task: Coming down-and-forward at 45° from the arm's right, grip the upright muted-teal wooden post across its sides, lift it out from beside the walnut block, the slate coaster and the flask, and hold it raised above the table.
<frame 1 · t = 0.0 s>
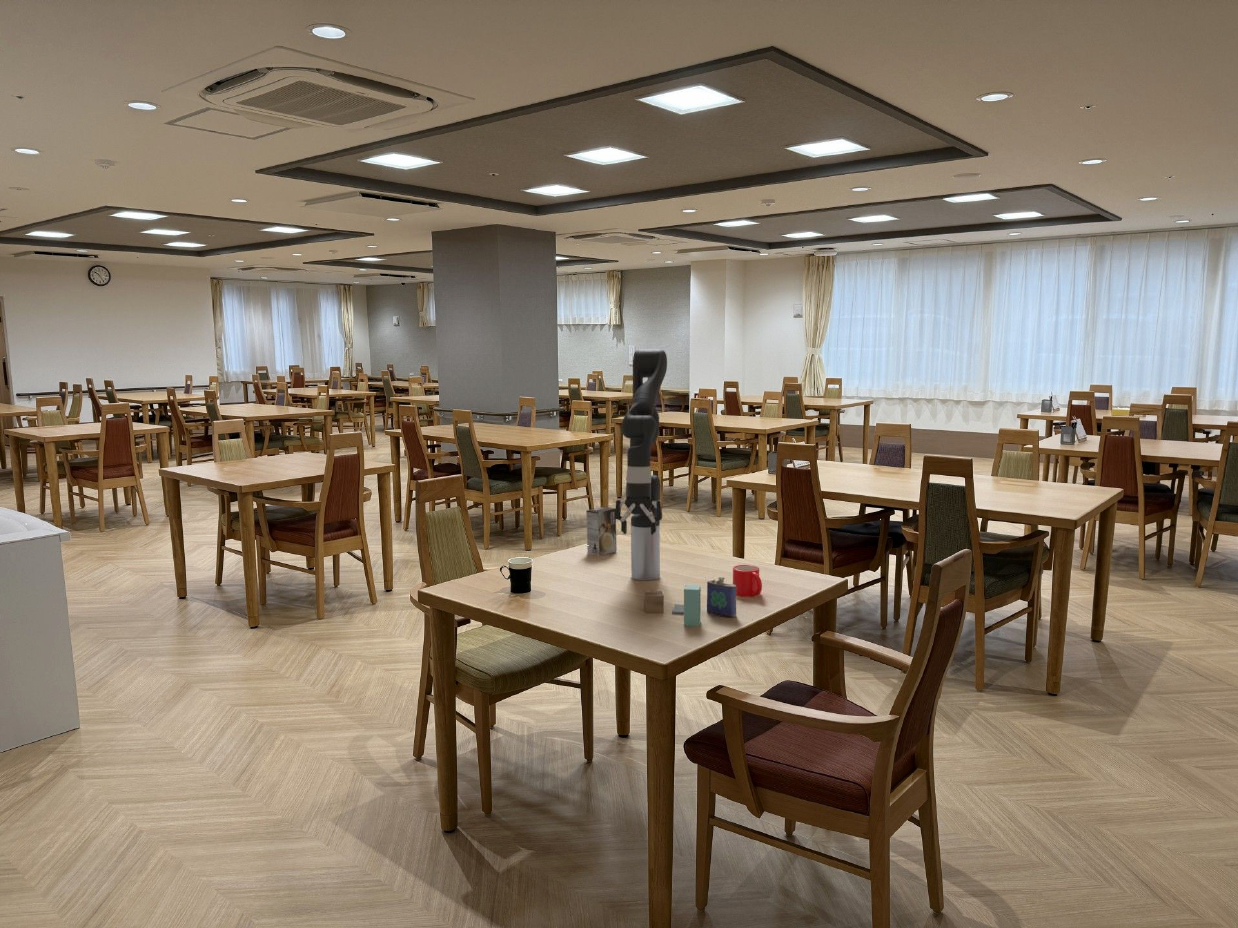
hand: (638, 533, 264), 17 cm above the table, tool pointing down, fingers open, 8 cm apart
teal post: (692, 623, 233), on the table
mug: (749, 595, 259), on the table
slate coaster: (686, 612, 244), on the table
coffee box: (602, 553, 313), on the table
walnut block: (653, 610, 245), on the table
flask: (720, 615, 240), on the table
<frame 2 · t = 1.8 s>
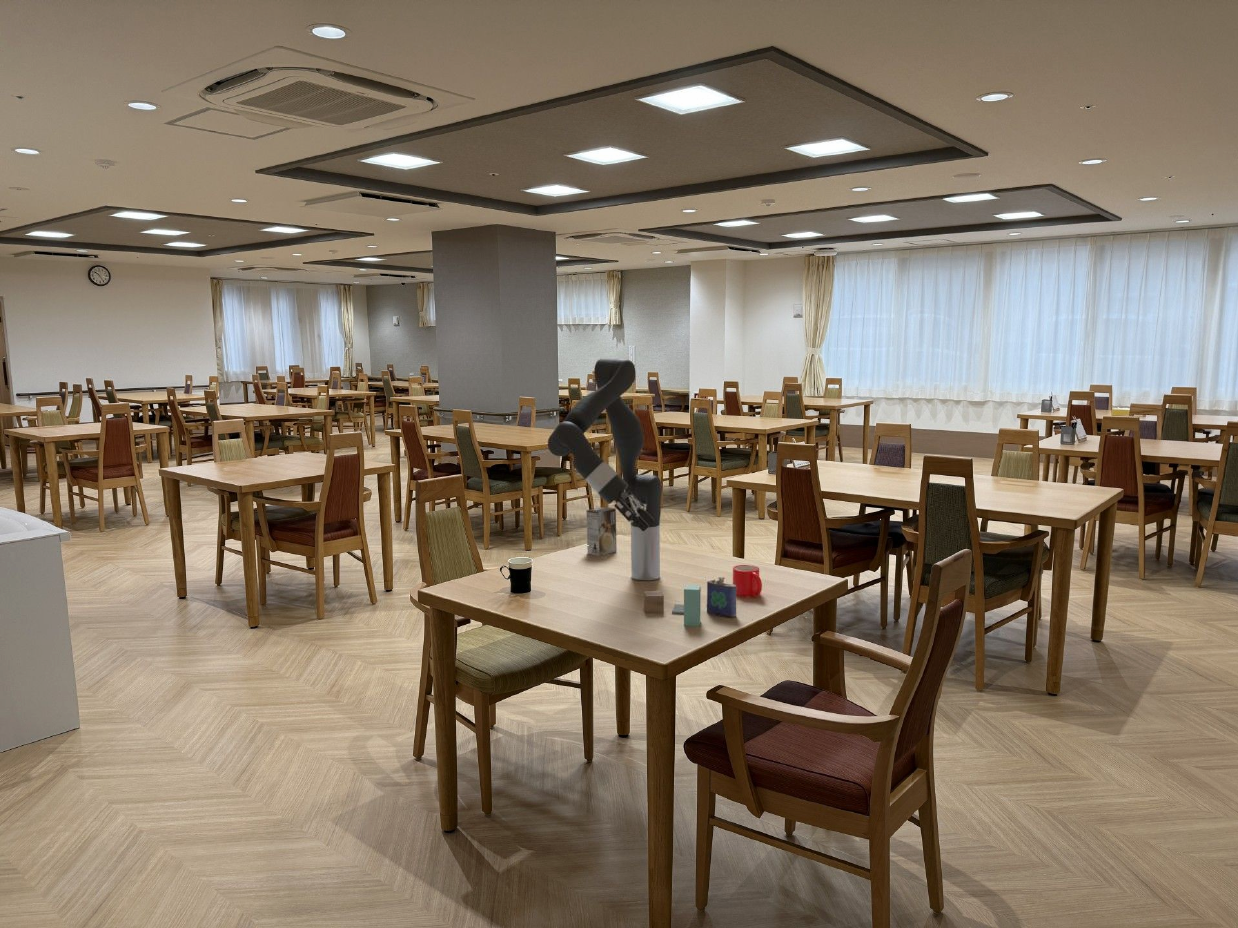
hand: (649, 525, 232), 26 cm above the table, tool tilted 45°, fingers open, 8 cm apart
nothing on the table moved.
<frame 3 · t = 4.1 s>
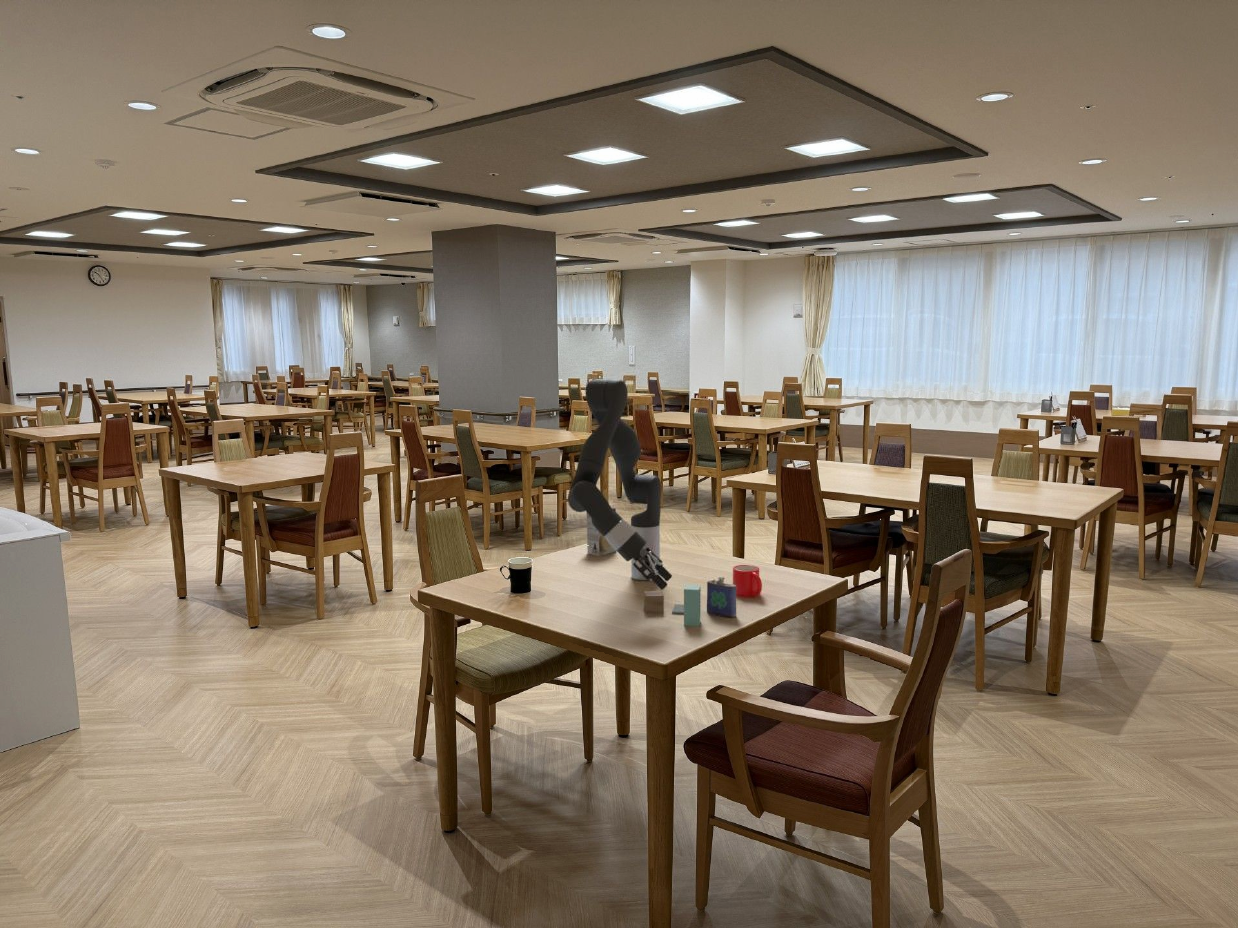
hand: (667, 583, 233), 11 cm above the table, tool tilted 45°, fingers open, 8 cm apart
nothing on the table moved.
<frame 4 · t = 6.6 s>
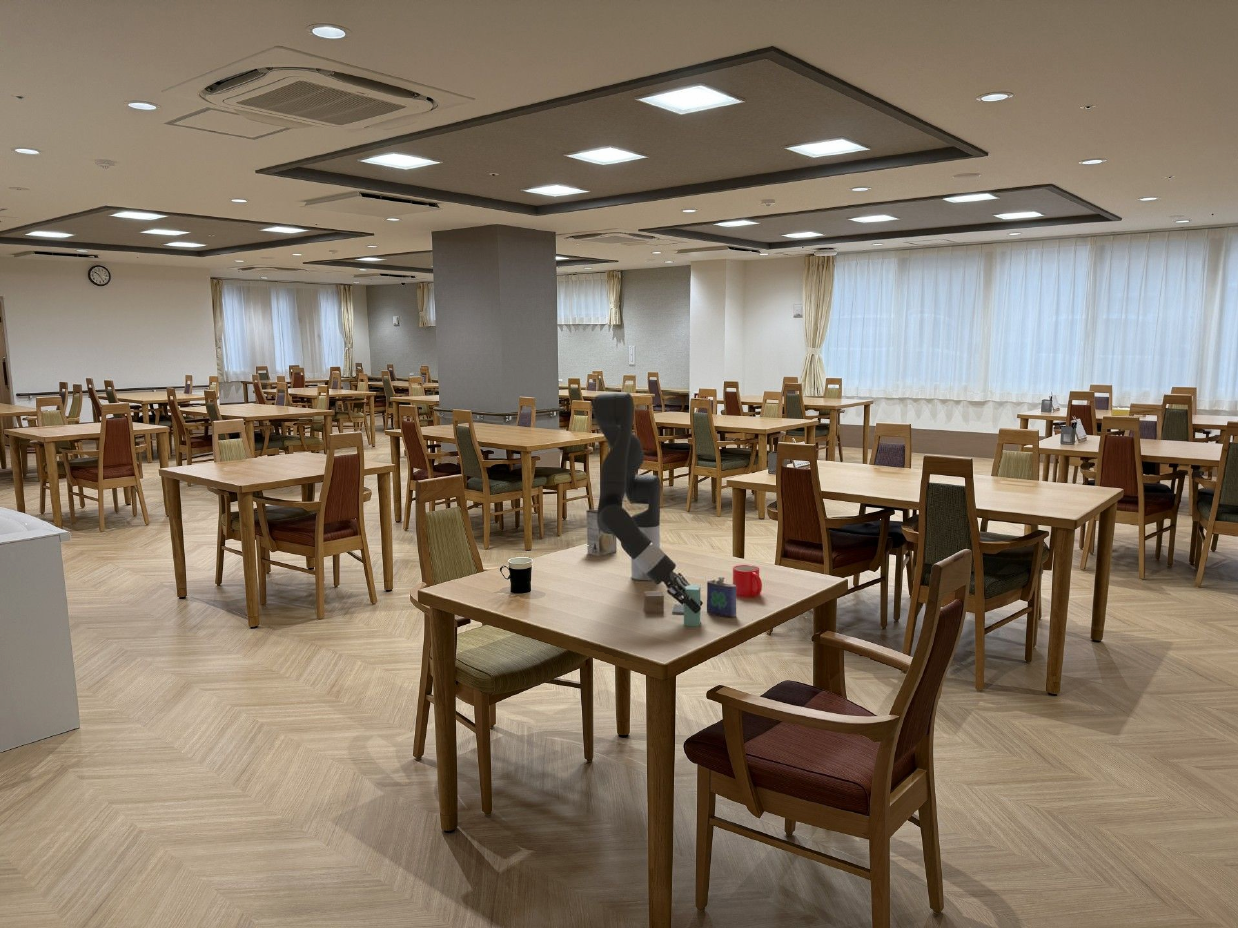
hand: (699, 608, 232), 4 cm above the table, tool tilted 45°, fingers closed on teal post, 4 cm apart
teal post: (692, 623, 233), on the table, touching gripper
everything else where it was.
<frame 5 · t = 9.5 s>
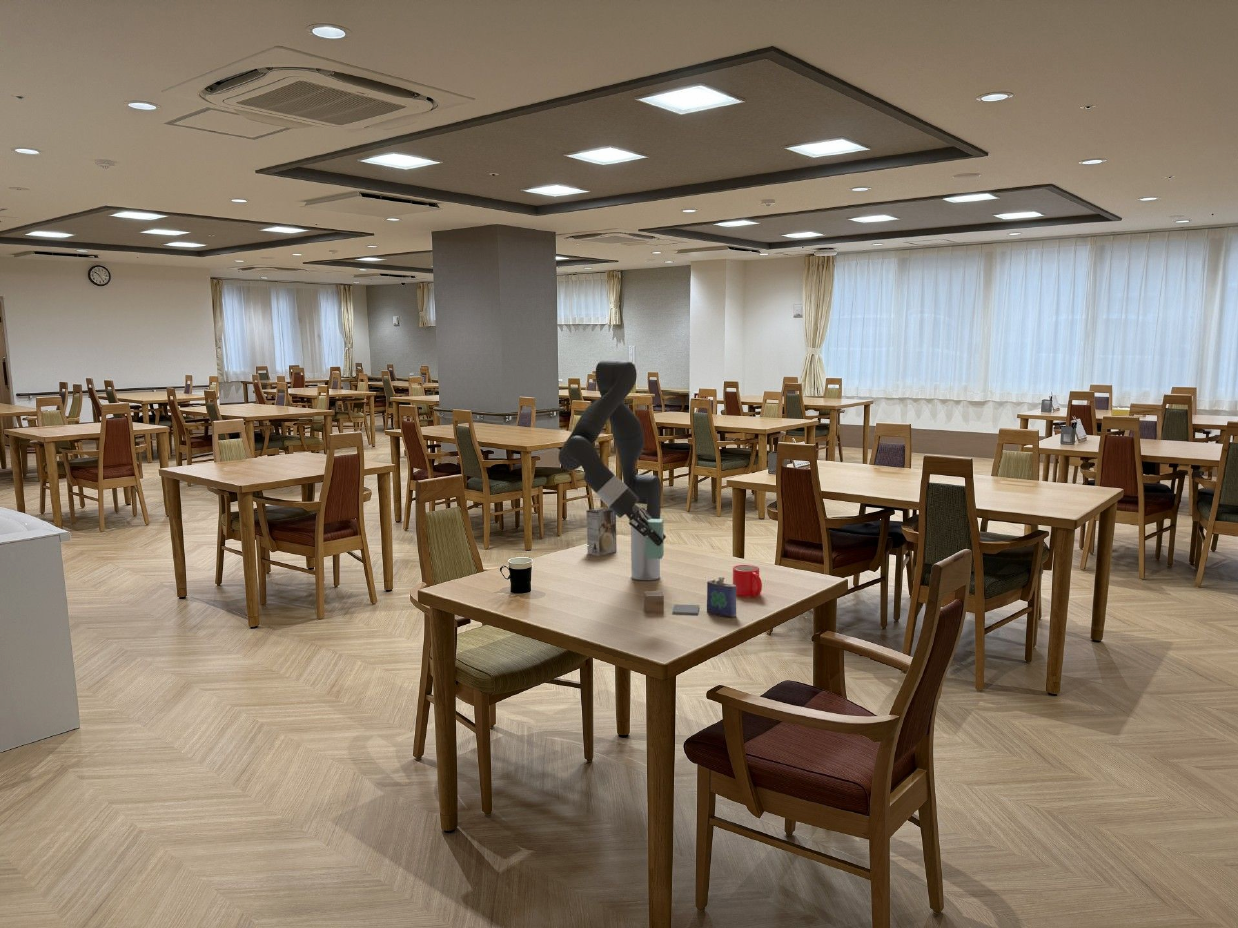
hand: (662, 541, 233), 22 cm above the table, tool tilted 45°, fingers closed on teal post, 4 cm apart
teal post: (655, 556, 233), point 18 cm above the table, touching gripper
everything else where it was.
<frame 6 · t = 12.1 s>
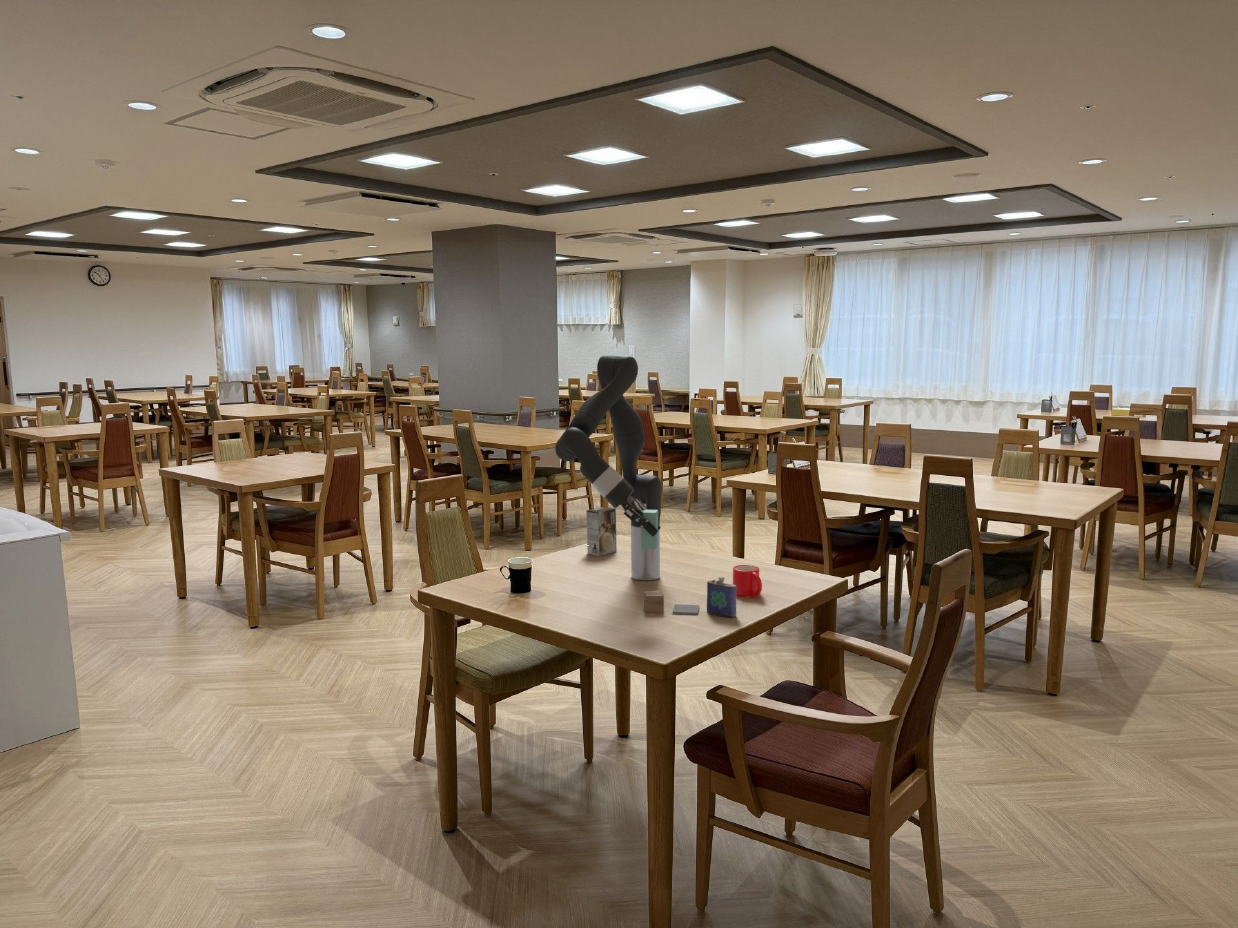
hand: (656, 531, 236), 24 cm above the table, tool tilted 45°, fingers closed on teal post, 4 cm apart
teal post: (649, 547, 237), point 20 cm above the table, touching gripper
everything else where it was.
at the end: the gripper is holding teal post; teal post point 19.7 cm above the table; flask moved 0.3 cm from its start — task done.
